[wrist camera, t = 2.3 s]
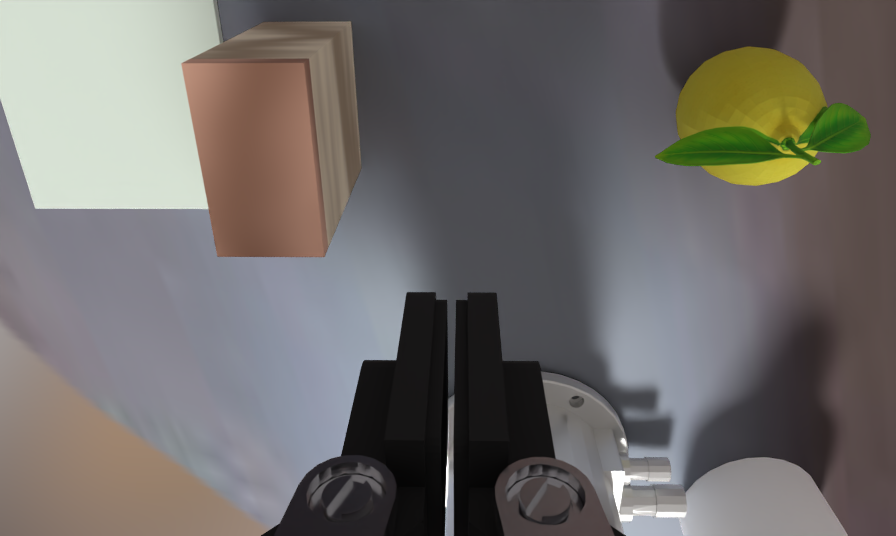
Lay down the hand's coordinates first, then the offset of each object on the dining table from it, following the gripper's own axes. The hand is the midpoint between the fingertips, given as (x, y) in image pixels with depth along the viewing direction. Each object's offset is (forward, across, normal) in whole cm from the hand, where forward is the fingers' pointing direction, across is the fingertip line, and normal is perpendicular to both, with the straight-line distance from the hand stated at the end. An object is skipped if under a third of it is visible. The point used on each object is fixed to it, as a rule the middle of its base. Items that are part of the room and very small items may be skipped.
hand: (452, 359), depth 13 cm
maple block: (+22, +7, 0) cm, 23 cm away
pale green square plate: (+22, +16, 0) cm, 27 cm away
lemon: (+22, -12, 0) cm, 25 cm away
